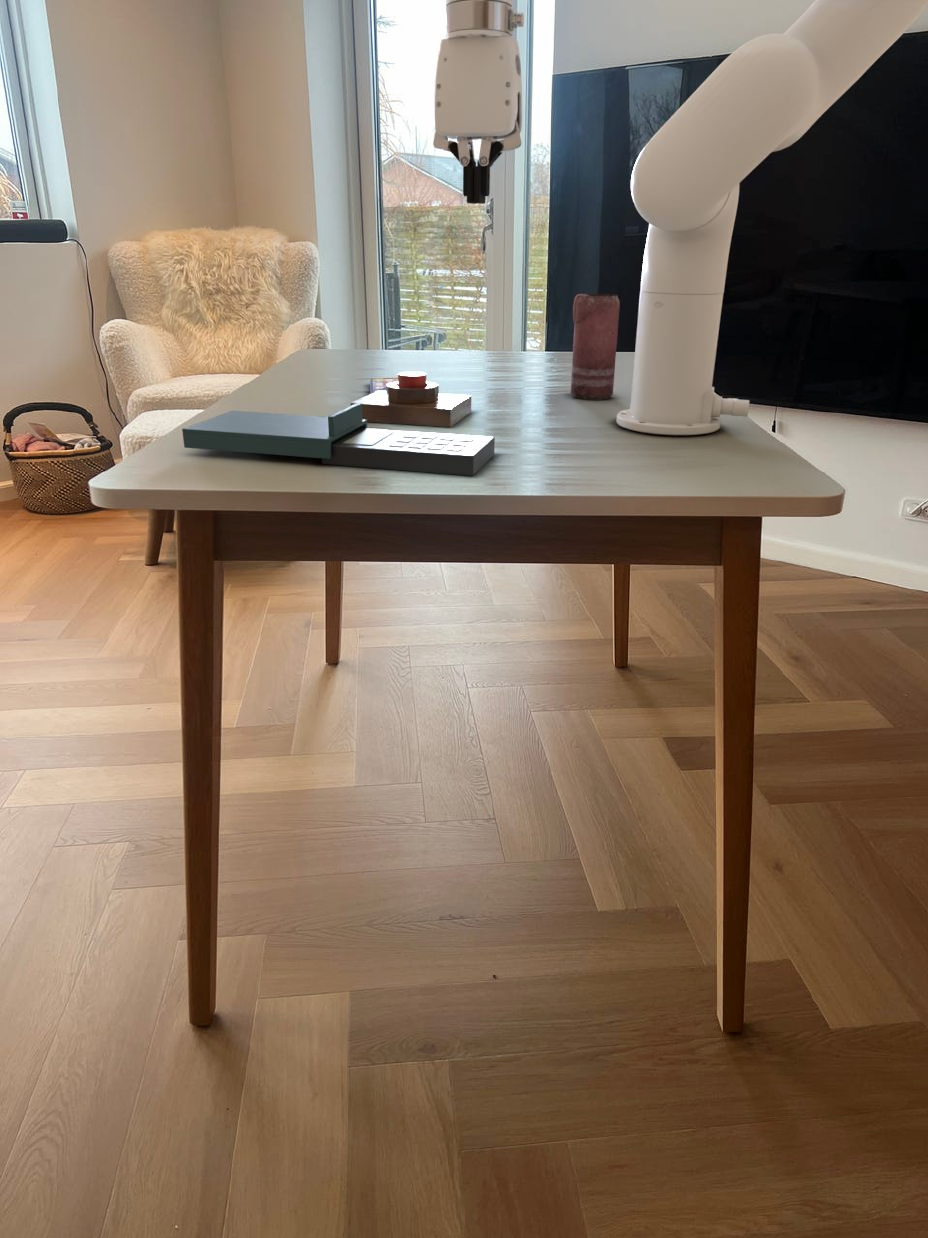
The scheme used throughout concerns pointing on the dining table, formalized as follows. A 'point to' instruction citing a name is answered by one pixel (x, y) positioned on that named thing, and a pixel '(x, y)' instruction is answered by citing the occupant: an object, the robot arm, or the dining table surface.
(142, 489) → the dining table surface
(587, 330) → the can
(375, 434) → the calculator
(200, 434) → the cover
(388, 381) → the smartphone
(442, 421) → the block
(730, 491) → the dining table surface
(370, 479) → the dining table surface
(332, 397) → the dining table surface
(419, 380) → the timer button
